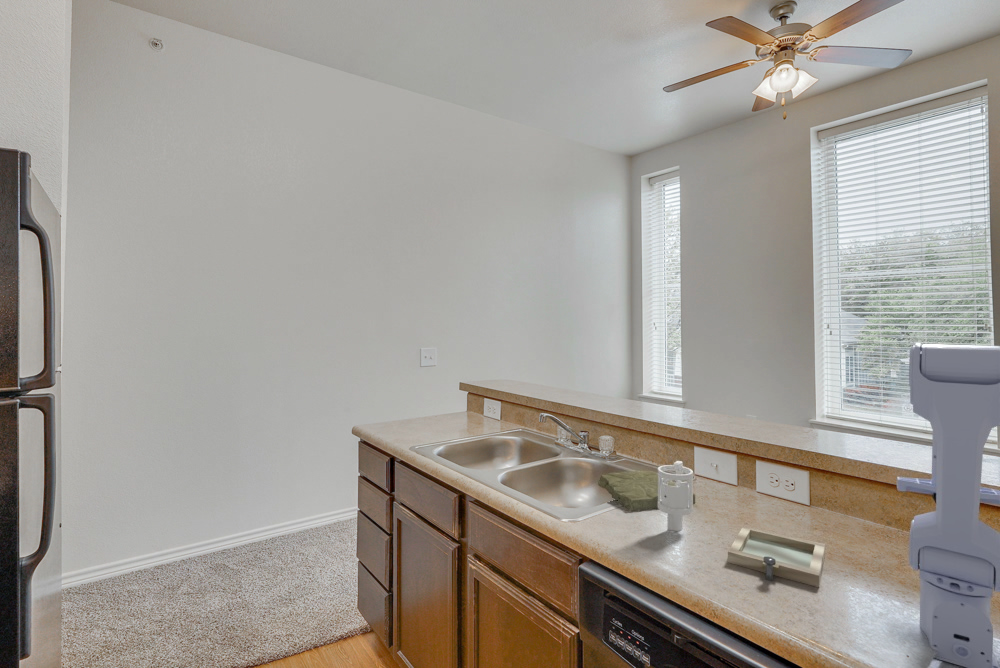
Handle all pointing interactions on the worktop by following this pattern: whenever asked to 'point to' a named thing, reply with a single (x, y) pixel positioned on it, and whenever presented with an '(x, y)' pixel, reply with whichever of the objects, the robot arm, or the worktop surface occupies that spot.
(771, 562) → the knob
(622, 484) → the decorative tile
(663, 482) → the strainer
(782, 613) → the worktop surface
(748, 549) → the picture frame
